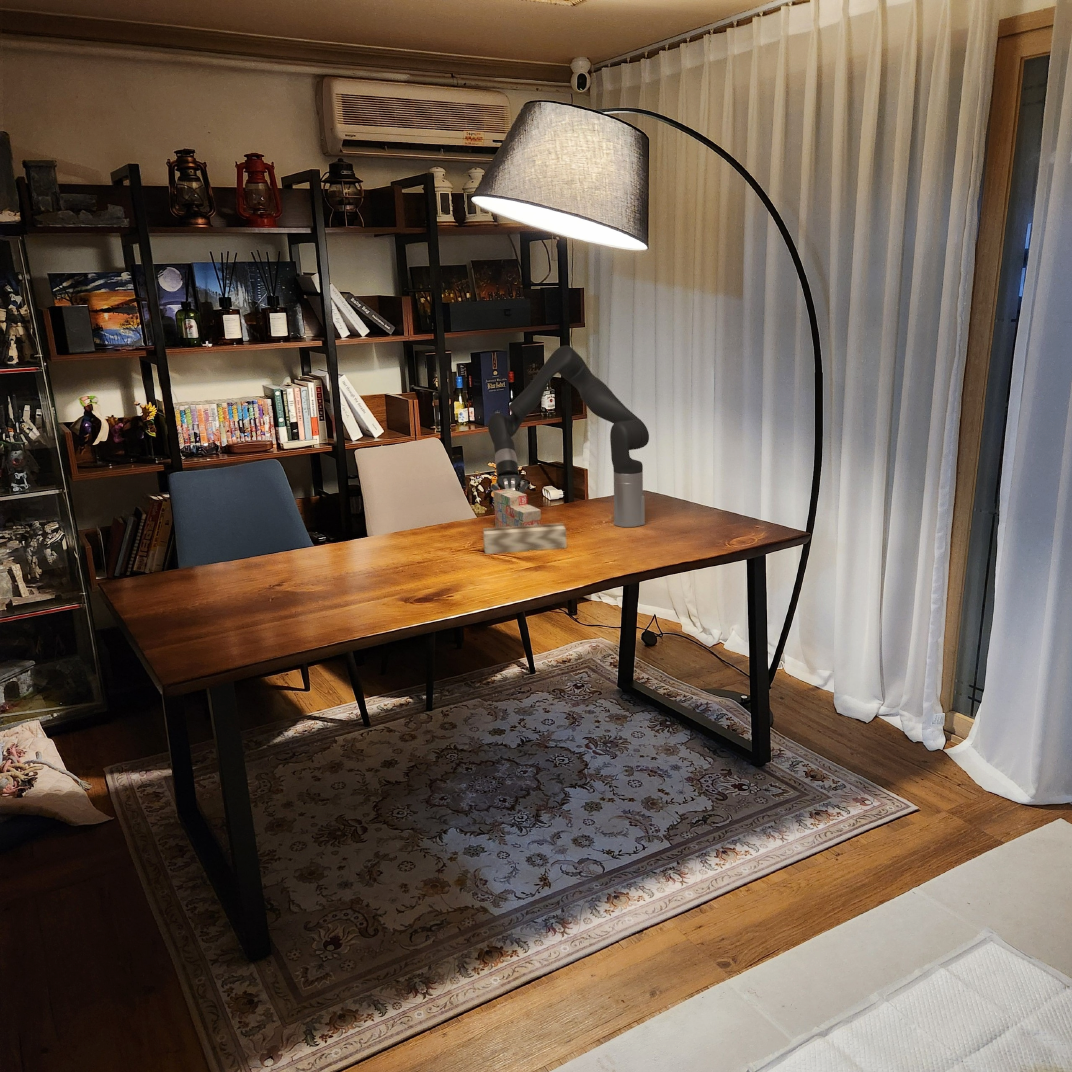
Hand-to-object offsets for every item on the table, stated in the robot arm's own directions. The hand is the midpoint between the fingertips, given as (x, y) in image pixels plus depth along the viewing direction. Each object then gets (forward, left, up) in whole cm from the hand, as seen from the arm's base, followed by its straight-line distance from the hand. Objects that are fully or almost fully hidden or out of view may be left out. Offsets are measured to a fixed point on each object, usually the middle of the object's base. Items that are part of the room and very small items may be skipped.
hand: (512, 508), depth 304 cm
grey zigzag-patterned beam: (0, +34, -4) cm, 34 cm away
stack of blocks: (0, +15, -5) cm, 15 cm away
